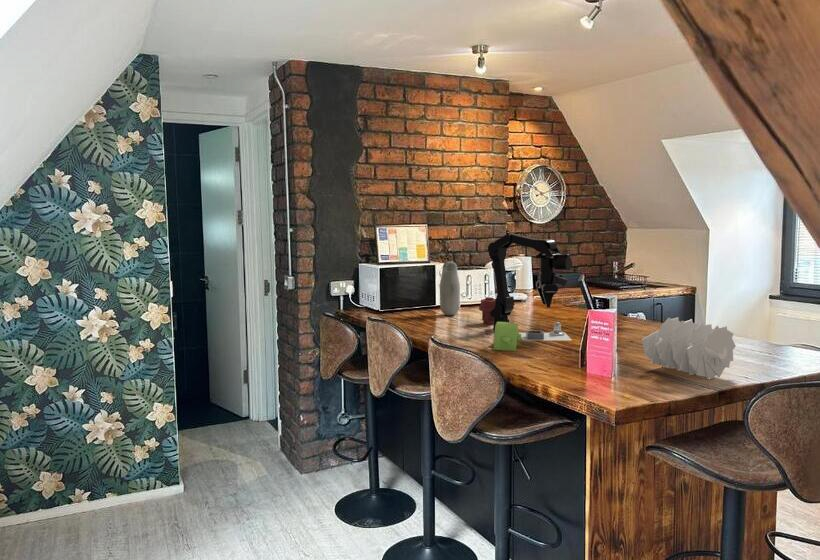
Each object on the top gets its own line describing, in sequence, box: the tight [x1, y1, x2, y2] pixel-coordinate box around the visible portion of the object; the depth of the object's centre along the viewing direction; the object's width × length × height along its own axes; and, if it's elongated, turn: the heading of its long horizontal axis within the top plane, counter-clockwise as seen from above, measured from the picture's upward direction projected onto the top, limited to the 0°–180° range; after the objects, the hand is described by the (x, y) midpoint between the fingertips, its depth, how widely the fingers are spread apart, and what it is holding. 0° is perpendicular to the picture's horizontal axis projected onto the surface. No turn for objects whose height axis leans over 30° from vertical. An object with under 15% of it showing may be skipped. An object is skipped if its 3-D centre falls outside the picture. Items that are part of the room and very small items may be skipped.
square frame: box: [525, 330, 545, 341], centre depth 269 cm, size 7×7×2 cm
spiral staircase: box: [641, 317, 737, 380], centre depth 210 cm, size 18×18×25 cm
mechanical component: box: [478, 296, 496, 326], centre depth 309 cm, size 12×10×10 cm
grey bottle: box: [439, 260, 461, 317], centre depth 334 cm, size 10×10×28 cm
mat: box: [518, 332, 573, 342], centre depth 273 cm, size 20×17×1 cm
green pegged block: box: [493, 321, 522, 352], centre depth 252 cm, size 18×10×10 cm, turn 168°
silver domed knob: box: [549, 321, 566, 336], centre depth 277 cm, size 6×6×5 cm
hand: (546, 306), depth 276 cm, fingers open, 9 cm apart
